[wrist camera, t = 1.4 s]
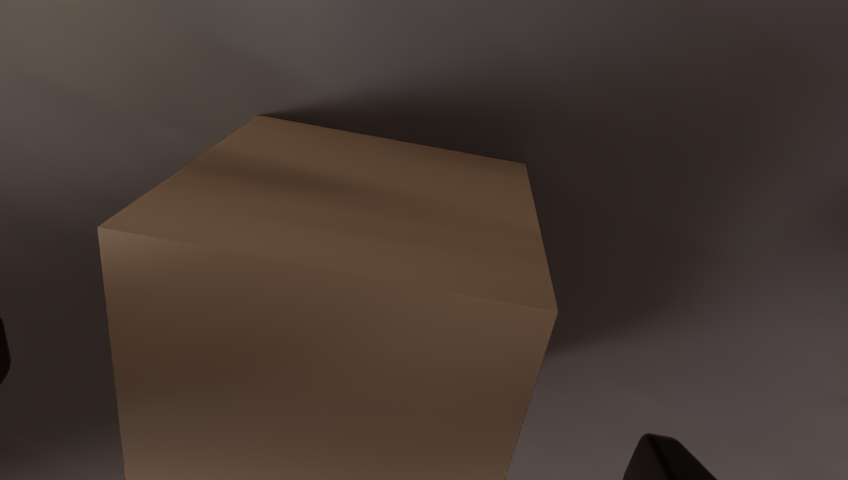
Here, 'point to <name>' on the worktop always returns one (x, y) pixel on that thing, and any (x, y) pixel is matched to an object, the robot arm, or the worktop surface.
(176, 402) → the walnut cube
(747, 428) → the worktop surface
